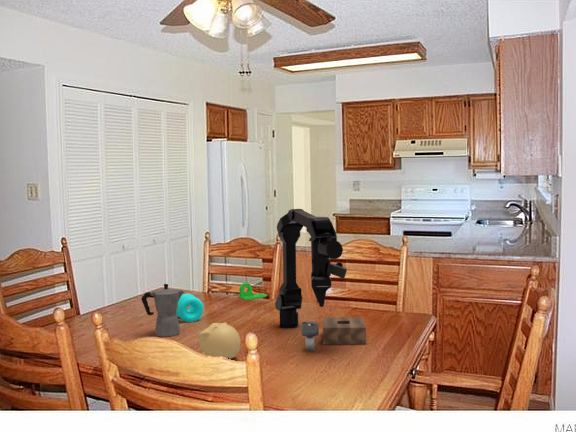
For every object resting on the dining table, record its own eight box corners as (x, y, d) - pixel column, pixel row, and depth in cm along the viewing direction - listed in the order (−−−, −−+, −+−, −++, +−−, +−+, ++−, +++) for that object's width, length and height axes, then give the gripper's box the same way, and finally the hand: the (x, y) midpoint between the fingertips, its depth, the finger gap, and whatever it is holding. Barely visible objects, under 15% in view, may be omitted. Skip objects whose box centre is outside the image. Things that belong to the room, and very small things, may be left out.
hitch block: (323, 344, 181) (322, 327, 181) (323, 332, 195) (322, 317, 195) (366, 344, 180) (365, 327, 180) (363, 332, 194) (362, 317, 194)
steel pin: (301, 352, 173) (301, 325, 172) (302, 347, 178) (301, 321, 178) (318, 352, 172) (318, 325, 172) (319, 347, 178) (318, 321, 177)
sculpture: (216, 350, 177) (215, 317, 177) (247, 355, 171) (246, 320, 171) (193, 360, 167) (192, 325, 167) (225, 366, 161) (224, 329, 161)
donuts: (197, 316, 224) (196, 291, 223) (204, 321, 215) (204, 296, 214) (173, 319, 220) (172, 294, 219) (179, 324, 211) (178, 298, 210)
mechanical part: (245, 302, 248) (244, 285, 248) (239, 300, 254) (239, 283, 253) (268, 299, 254) (268, 282, 254) (263, 297, 259) (262, 280, 259)
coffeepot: (182, 327, 206) (180, 280, 205) (189, 333, 197) (187, 284, 196) (140, 333, 199) (138, 284, 198) (145, 340, 191) (143, 288, 190)
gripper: (347, 259, 169) (348, 309, 169) (343, 252, 187) (344, 297, 188) (310, 259, 169) (312, 310, 170) (310, 253, 188) (311, 298, 189)
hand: (321, 303), depth 179 cm, fingers open, 9 cm apart
